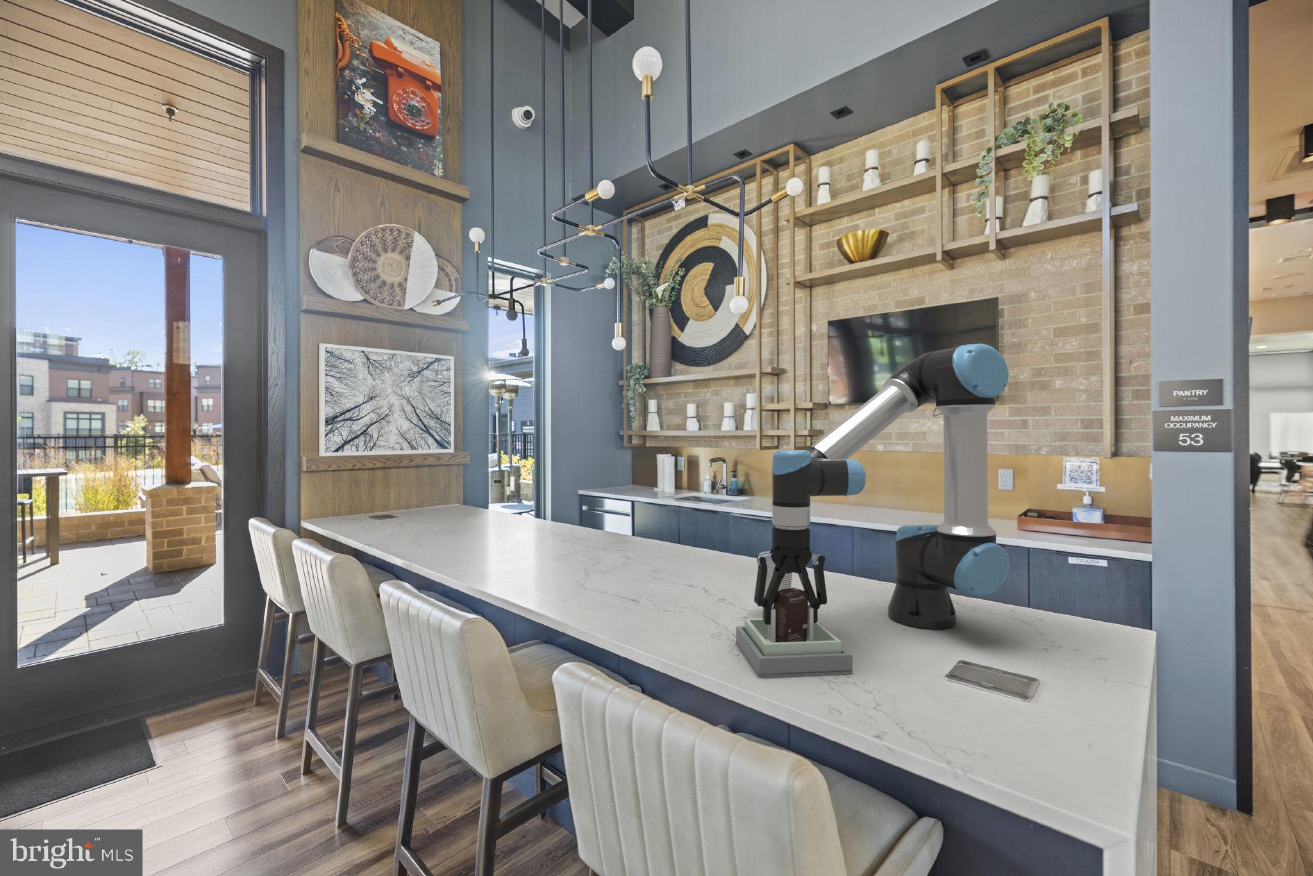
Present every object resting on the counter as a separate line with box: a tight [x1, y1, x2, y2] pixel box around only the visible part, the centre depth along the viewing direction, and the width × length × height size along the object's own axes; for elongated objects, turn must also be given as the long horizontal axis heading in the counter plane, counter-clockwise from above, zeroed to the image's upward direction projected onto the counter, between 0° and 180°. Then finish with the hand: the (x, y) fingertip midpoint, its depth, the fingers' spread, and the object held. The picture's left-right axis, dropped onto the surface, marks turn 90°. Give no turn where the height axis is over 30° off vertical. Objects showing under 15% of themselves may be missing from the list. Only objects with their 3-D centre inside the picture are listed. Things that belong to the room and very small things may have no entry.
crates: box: [735, 618, 853, 679], centre depth 117 cm, size 18×18×6 cm
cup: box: [758, 550, 793, 607], centre depth 142 cm, size 8×8×16 cm
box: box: [772, 587, 809, 643], centre depth 117 cm, size 6×4×12 cm
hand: (790, 639), depth 117 cm, fingers open, 7 cm apart
